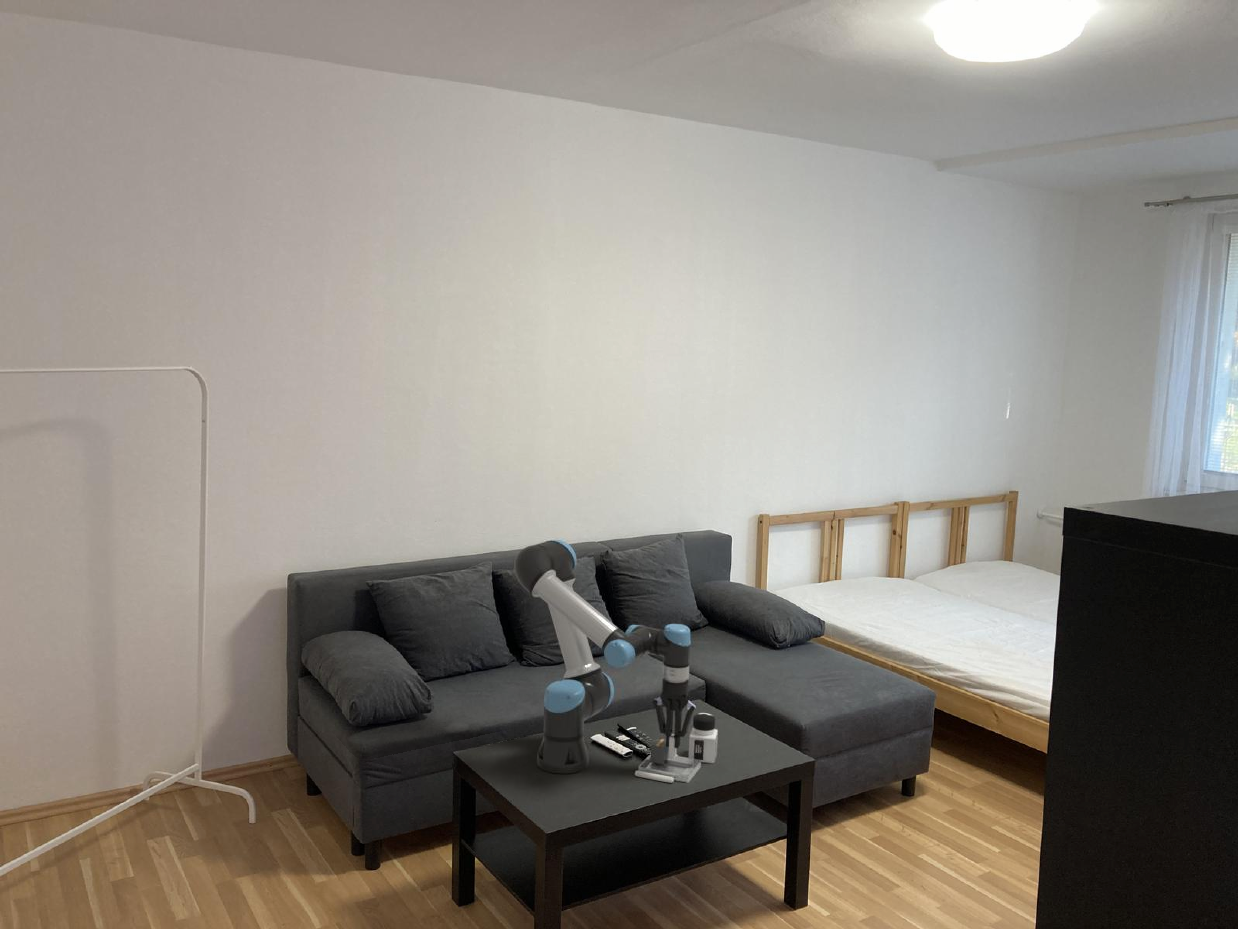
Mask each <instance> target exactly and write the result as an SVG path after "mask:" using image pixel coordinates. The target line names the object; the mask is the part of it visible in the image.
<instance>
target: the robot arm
mask: <svg viewBox="0 0 1238 929" xmlns="http://www.w3.org/2000/svg"><path fill="white" fill-rule="evenodd" d="M577 561H578V560H577V555H576V552H575V551H574V549H573V547H572V546H571V545H570V544H569V543H567V542H566V541H563V540H560V539H553V540H552V539H551V540H546V541H543V542H539V543H536V544H533V545H529V546H526V547H524V548H522V549H521V550H520V551H519V552H518V553H517V555H516V556H515V559H514V562H513V571H514V575H515V577H516V579H517V581H518V582H519V583H520V586H521V587H523V589H524V590H525V591H527V592H528V593H529V594H530V595H531V596H533V598H534V597H535V598H540V599H542V600H543V601H544V602H546V604H547V606H548V609H549V612H550V615H551V620H552V623H553V627H554V629H555V633H556V637H557V640H558V644H559V648H560V651H561V654H562V658H563V660H564V665H565V668H566V671H565V673H564V675H563V679H562V680H556V681H554V682H552V683H550V684H549V685H548V686H547V687H546V689H545V690H544V697H543V738H542V740H541V743H540V747H539V749H538V751H537V754H536V756H537V757H536V764H537V767H538V768H540V770H543V771H545V772H548V773H553V774H573V773H579V772H581V771H583V770H585V769H587V767H589V765H590V764H589V762H590V759H589V758H590V756H589V753H588V749H587V746H586V742H585V739H584V728H585V727H584V724H585V723H584V722H585V721H586V720H589V719H591V718H592V717H593V716H595V715H597V714H601V713H602V712H603V711H604V710H605V709H607V708H608V707H609V706H610V705H611V703H612V702H613V700H614V696H615V695H614V694H615V688H614V683H613V680H612V679H611V677H610V676H609V675H607V674H606V673H605V671H602V667H601V665H600V664H599V663H596V662H595V661H594V658H593V654H592V651H591V647H590V645H589V640H588V638H589V639H590V640H591V641H592V642H593V643H595V645H597V646H598V647H599V648H601V650H603V651H604V654H603V656H604V658H605V660H606V662H607V664H608V665H609V666H611V667H613V668H622V667H625V666H629V665H630V664H632V663H633V662H635V661H637V660H639V659H641V658H642V657H644V656H647V655H652V656H653V655H654V656H658V657H662V658H663V659H662V660H663V661H662V662H663V663H662V682H661V683H662V685H661V693H660V696H659V697H656V698H654V699H653V700H652V705H653V706H654V708H655V711H656V718H657V722H658V728H659V732H660V733H661V734H664V735H665V740H666V746H667V747H669V758H668V759H671V760H674V758H675V757H676V754H677V749H679V747H680V745H681V738H683V737H685V736H686V735H687V734H688V730H689V727H690V724H691V720H692V716H693V714H694V711H695V710H696V709H697V707H698V706H697V704H696V703H692V702H691V701H690V697H689V678H690V655H691V644H692V641H691V629H690V628H689V627H688V626H687V625H685V624H683V623H682V624H681V623H669V624H667V625H665V627H664V629H660V628H659V629H658V628H654V627H649V626H645V625H642V624H632V625H629V626H628V627H627V629H625V630H626V631H625V632H624V631H623V630H622V629H621V628H619V627H617V625H615V624H614V623H613V622H612V621H610V619H608V618H607V617H606V616H605V615H603V614H602V613H601V612H600V611H599V610H597V609H596V608H595V607H593V606H592V605H591V604H590V603H589V602H588V601H587V600H585V599H584V598H583V597H582V596H581V595H579V594H578V593H577V592H576V591H574V587H573V584H574V583H575V581H576V576H575V573H574V570H575V569H576V566H577ZM663 705H664V706H663ZM686 706H687V707H686ZM663 707H665V710H666V712H665V713H666V718H665V713H664V708H663ZM685 707H686V709H687V712H686V715H685V718H684V721H683V723H682V717H683V716H682V714H683V709H684V708H685ZM673 724H674V726H673ZM682 724H683V725H682ZM673 727H674V731H673Z"/></svg>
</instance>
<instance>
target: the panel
mask: <svg viewBox="0 0 1238 929" xmlns="http://www.w3.org/2000/svg"><path fill="white" fill-rule="evenodd" d="M701 766H702V762H701V760H697V759H691V758H689V757H685V756H681V755H678V756H676V757H675V758H674V760H671V759H667V760H666V761H665V763H664V764H661V763H656V762H651V761H650V755H648V756H647V757H646V758H645V759H644V760H643V761H642V763H640V764H639V766H638V771H643V772H648V773H653V774H658V775H664V776H669V777H673V779H674V781H677V782H683V783H690V781H691V780H693V777H694V776H696V773H697V772H698V771H699V770H700V768H701Z"/></svg>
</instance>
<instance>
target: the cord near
mask: <svg viewBox="0 0 1238 929" xmlns="http://www.w3.org/2000/svg"><path fill="white" fill-rule="evenodd" d="M634 775H635V776H636V777H638V778H643V779H648V780H654V781H660V782H665V783H670V784H672V783H674V781H675V780H674V779H673V777H669V776H664V775H658V774H653V773H648V772H643V771H639V770H635V772H634Z"/></svg>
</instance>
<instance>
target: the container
mask: <svg viewBox="0 0 1238 929" xmlns="http://www.w3.org/2000/svg"><path fill="white" fill-rule="evenodd" d="M718 733H719V730H718V729H716V717H715V715H712V714H710V713H705V712H699V713H696V714H694V715H693V719H692V728H691V730H690V734H689V735H688V736H689V738H688V758H691V759H697V760H701V763H708V764H715V761H716V758H717V754H718V736H719V735H718Z"/></svg>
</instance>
